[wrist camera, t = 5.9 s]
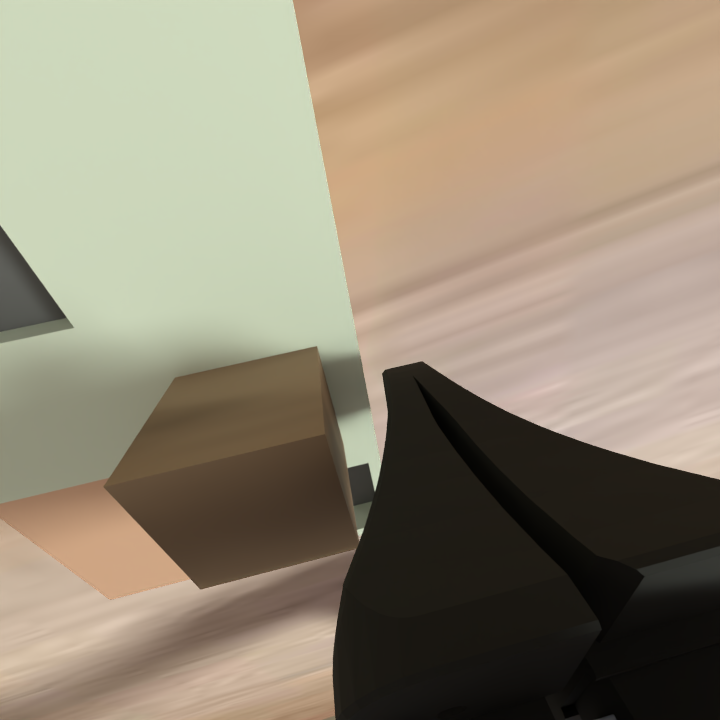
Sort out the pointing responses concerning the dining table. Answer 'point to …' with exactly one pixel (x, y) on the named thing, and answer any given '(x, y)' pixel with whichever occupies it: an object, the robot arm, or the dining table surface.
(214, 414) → the block
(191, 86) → the board
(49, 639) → the dining table surface
